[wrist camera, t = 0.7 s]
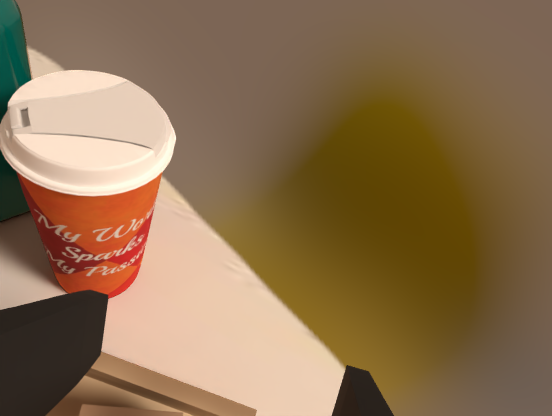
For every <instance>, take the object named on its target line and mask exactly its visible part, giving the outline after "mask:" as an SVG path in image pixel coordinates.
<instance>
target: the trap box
mask: <svg viewBox="0 0 552 416" xmlns="http://www.w3.org/2000/svg"><path fill="white" fill-rule="evenodd" d="M82 404H85V405H98V406H110V407H122V408H134V409H146V410H158V411H170V412H183V416H255V415H256V411H257V410H255V409H253V408H250V407H247V406H245V405H242V404H239V403H237V402H234V401H231V400H229V399H226V398H223V397H221V396H218V395H215V394H213V393H210V392H207V391H205V390H202V389H199V388H197V387H194V386H191V385H189V384H186V383H183V382H181V381H178V380H175V379H173V378H170V377H167V376H165V375H162V374H159V373H157V372H154V371H151V370H149V369H146V368H143V367H141V366H138V365H135V364H133V363H130V362H127V361H125V360H122V359H119V358H117V357H114V356H111V355H109V354H106V353H103V352H101V355H100V356H99V358H98V359H97V360H96V362H95V363H94V364H93V366H92V367H91V368H90V369H89V371H88V372H87V373H86V374H85V376H84V377H83V378H82V379H81V381H80V382H79V383H78V384H77V385H76V386H75V387H74V388H73V389H72V390H71V391H70V392H69V393H68V394H67V395H66V396H65V397H64V398H63V399H62V400H61V401H60V402H59V403H58V404H57V405H56V406H55V407H54V408H53V409H52V410H51V411H50V412H49V413H48V414H47V415H46V416H79V414H80V410H81V407H82Z"/></svg>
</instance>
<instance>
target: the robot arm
mask: <svg viewBox="0 0 552 416" xmlns="http://www.w3.org/2000/svg"><path fill="white" fill-rule="evenodd" d="M108 296H109V295H107V294H104V293H100V292H97V291H94V290H83V291H78V292H73V293H69V294H65V295H60V296H56V297H52V298H48V299H44V300H40V301H36V302H32V303H28V304H24V305H20V306H16V307H12V308H7V309H3V310H0V416H46V415H47V414H48V413H49V412H50V411H51V410H52V409H53V408H54V407H55V406H56V405H57V404H58V403H59V402H60V401H61V400H62V399H63V398H64V397H65V396H66V395H67V394H68V393H69V392H70V391H71V390H72V389H73V388H74V387H75V386H76V385H77V384H78V383H79V382H80V381H81V379H82V378H83V377H84V376H85V374H86V373H87V372H88V371H89V369H90V368H91V367H92V366H93V364H94V363H95V362H96V360H97V359H98V358H99V356H100V355H101V348H102V341H103V334H104V326H105V319H106V311H107V304H108ZM332 416H394V415H393V413H392V411H391V410H390V408H389V407H388V405H387V403H386V401H385V399H384V398H383V396H382V394H381V392H380V391H379V389H378V387H377V385H376V383H375V382H374V380H373V378H372V376H371V375H370V373H369V372H368V371H365V370H362V369H358V368H355V367H352V366H348V365H347V366H346V370H345V373H344V377H343V380H342V383H341V387H340V390H339V393H338V397H337V400H336V403H335V407H334V410H333V413H332Z"/></svg>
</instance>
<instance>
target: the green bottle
mask: <svg viewBox="0 0 552 416" xmlns="http://www.w3.org/2000/svg"><path fill="white" fill-rule="evenodd" d="M31 80H33V78H32V72H31V66H30V60H29V54H28V48H27V43H26V37H25V31H24V25H23V19H22V14H21V11H20V8H19V6H18V4H17V2H16V1H15V0H0V124H1V121H2V119H3V117H4V116H5V114H6V112H7V111H8V102H9V100H10V99H11V97H12V96H13V94H14V93H15V92H16V91H17V90H18V89H19V88H20V87H21V86H23V85H24V84H26V83H27V82H29V81H31ZM28 211H30V208H29V206H28V203H27V201H26V198H25V196H24V193H23V190H22V187H21V184H20V181H19V178H18V175H17V172H16V170H14V169H13V168H12V167H11V165H10V164H9V163H8V162H7V160H6V159H5V157H4V155H3V153H2V151H1V149H0V221H3V220H5V219H8V218H11V217H14V216H17V215H20V214H23V213H26V212H28Z"/></svg>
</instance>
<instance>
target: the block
mask: <svg viewBox="0 0 552 416" xmlns="http://www.w3.org/2000/svg"><path fill="white" fill-rule="evenodd" d="M79 416H183V412H170V411H158V410H146V409H134V408H122V407H110V406H98V405H85V404H82V407H81V410H80V414H79Z"/></svg>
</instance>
